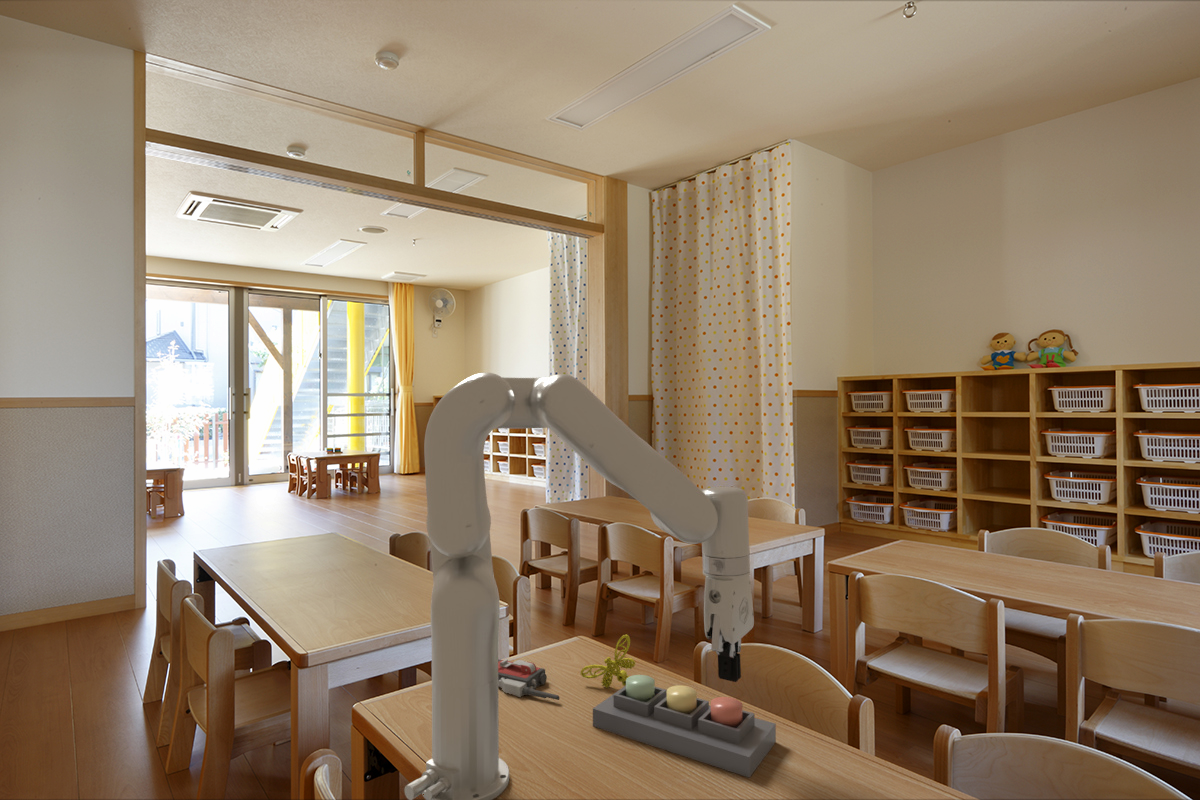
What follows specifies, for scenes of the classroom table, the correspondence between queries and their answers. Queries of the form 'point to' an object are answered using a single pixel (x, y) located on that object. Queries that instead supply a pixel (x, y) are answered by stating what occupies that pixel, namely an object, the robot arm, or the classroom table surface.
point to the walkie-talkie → (522, 678)
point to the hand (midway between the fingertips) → (729, 678)
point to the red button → (726, 711)
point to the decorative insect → (611, 669)
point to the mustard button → (682, 699)
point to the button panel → (688, 731)
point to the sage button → (640, 687)
